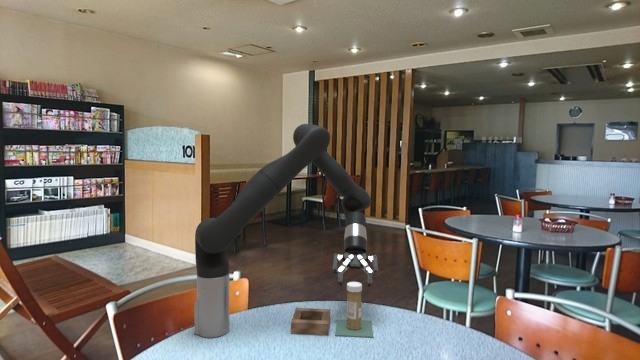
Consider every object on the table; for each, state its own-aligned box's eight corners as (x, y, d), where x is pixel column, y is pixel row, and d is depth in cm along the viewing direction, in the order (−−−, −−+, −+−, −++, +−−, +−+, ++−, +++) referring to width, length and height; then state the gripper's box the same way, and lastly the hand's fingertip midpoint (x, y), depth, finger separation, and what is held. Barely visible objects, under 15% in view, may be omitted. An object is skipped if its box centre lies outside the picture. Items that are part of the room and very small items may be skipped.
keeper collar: (290, 333, 114) (290, 322, 114) (296, 318, 125) (296, 307, 125) (328, 335, 114) (328, 324, 113) (330, 319, 125) (330, 309, 124)
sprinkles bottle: (364, 328, 118) (365, 284, 117) (352, 331, 116) (353, 287, 115) (354, 322, 122) (355, 280, 121) (343, 325, 119) (343, 282, 118)
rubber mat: (335, 336, 113) (335, 334, 113) (336, 320, 124) (336, 319, 124) (373, 337, 113) (373, 336, 113) (371, 321, 124) (371, 320, 124)
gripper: (334, 233, 129) (331, 278, 118) (377, 235, 128) (379, 280, 117) (334, 245, 135) (332, 289, 124) (376, 247, 133) (377, 291, 123)
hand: (355, 285), depth 121 cm, fingers open, 8 cm apart
